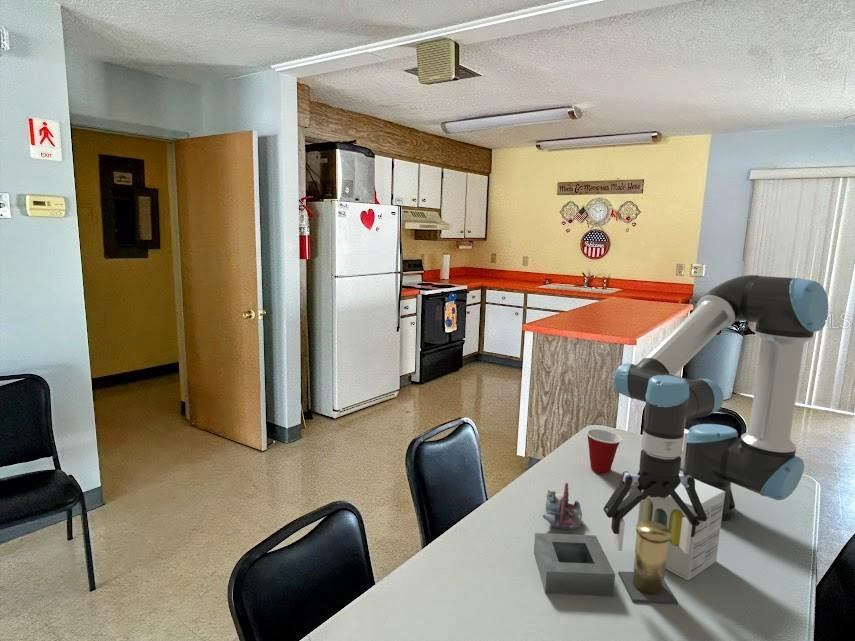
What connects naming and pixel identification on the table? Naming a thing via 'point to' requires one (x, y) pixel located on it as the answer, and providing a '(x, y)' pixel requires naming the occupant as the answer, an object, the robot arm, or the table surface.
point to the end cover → (650, 557)
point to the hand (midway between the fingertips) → (650, 548)
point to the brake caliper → (562, 511)
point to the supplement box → (671, 517)
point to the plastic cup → (602, 449)
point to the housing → (573, 565)
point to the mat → (638, 596)
